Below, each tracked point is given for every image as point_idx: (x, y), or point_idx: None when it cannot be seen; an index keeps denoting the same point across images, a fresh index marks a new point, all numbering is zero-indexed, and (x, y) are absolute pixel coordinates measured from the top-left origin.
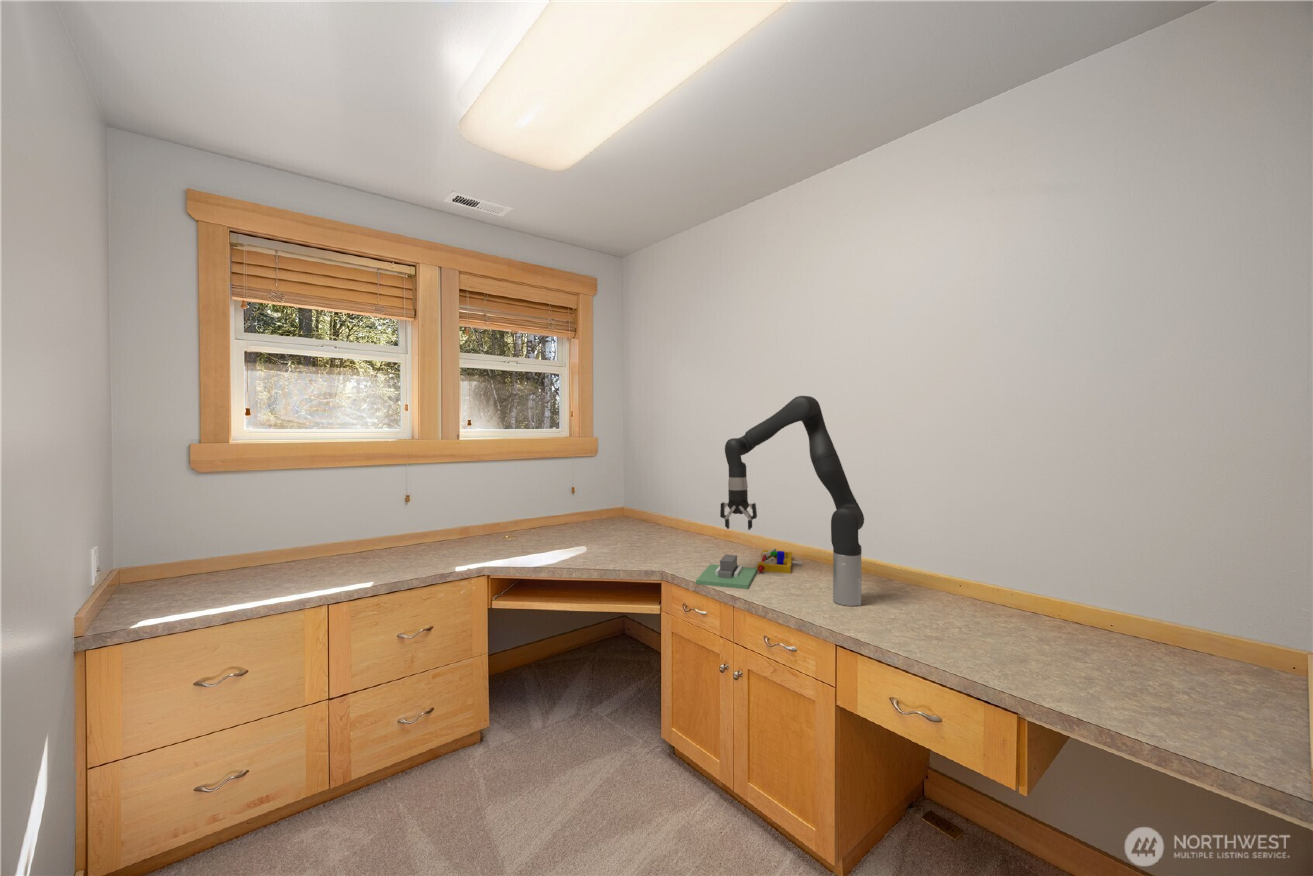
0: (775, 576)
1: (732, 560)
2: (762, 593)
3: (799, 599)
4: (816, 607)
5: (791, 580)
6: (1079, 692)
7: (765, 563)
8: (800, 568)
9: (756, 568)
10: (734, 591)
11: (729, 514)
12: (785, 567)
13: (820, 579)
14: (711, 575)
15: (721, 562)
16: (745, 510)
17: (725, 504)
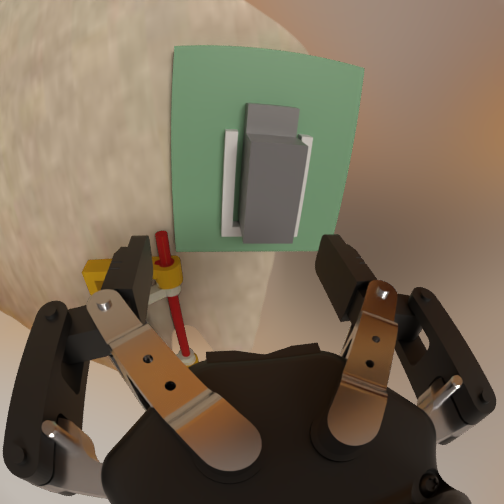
0: (113, 217)
1: (253, 159)
2: (124, 28)
3: (29, 37)
4: (3, 11)
5: (65, 195)
6: None
7: (157, 287)
8: (84, 303)
9: (176, 248)
10: (220, 14)
11: (373, 316)
12: (95, 269)
13: (17, 232)
14: (320, 126)
15: (299, 143)
16: (151, 405)
17: (447, 421)
